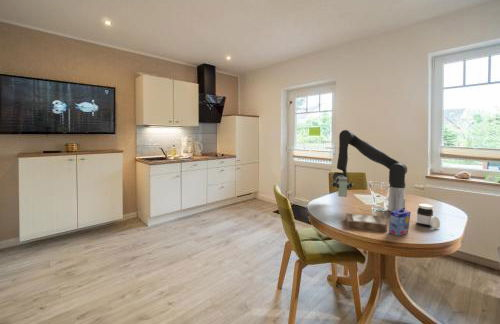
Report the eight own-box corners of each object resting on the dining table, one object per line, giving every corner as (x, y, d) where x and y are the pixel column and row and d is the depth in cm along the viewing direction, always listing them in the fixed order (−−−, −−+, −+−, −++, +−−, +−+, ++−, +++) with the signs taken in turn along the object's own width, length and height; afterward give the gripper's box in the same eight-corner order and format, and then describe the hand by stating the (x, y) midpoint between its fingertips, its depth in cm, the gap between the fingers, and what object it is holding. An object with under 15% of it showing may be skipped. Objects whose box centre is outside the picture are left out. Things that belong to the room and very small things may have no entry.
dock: (381, 222, 151) (381, 215, 151) (386, 231, 138) (387, 224, 138) (345, 219, 157) (346, 212, 156) (347, 227, 144) (348, 220, 143)
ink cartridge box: (398, 236, 132) (400, 210, 130) (388, 232, 137) (389, 207, 135) (409, 233, 136) (411, 207, 134) (399, 229, 141) (401, 204, 139)
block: (346, 195, 165) (346, 177, 163) (346, 197, 161) (347, 178, 159) (338, 195, 166) (338, 177, 165) (338, 196, 162) (339, 178, 161)
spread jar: (417, 220, 154) (418, 202, 153) (440, 224, 147) (442, 205, 146) (414, 226, 145) (416, 207, 144) (439, 231, 138) (441, 210, 137)
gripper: (330, 176, 178) (331, 180, 162) (352, 176, 174) (355, 181, 158) (330, 186, 179) (331, 192, 163) (352, 187, 175) (354, 193, 158)
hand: (343, 186), depth 160 cm, fingers closed on block, 5 cm apart
